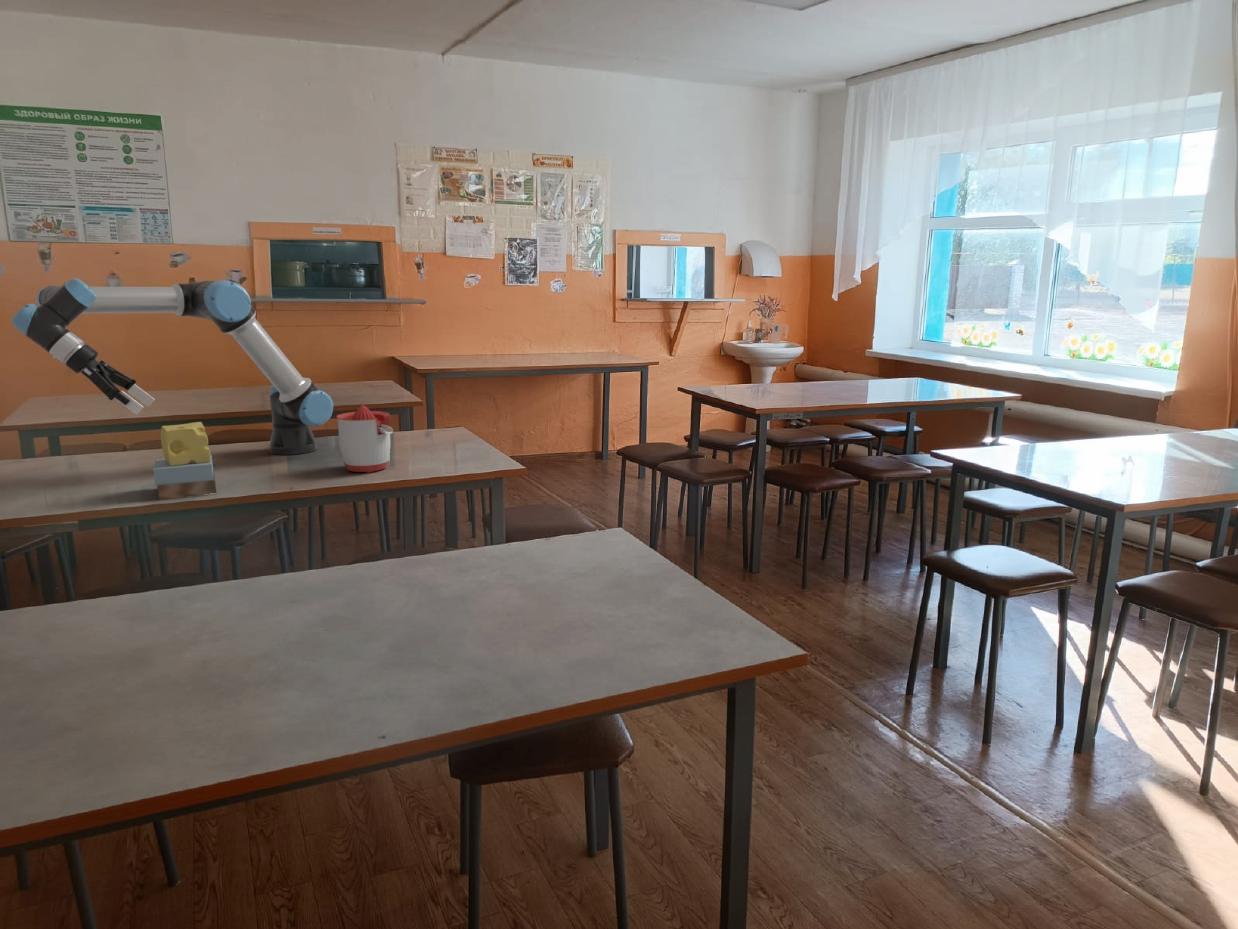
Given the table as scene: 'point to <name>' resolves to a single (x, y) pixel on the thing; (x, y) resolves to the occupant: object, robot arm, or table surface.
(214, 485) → the tower base block
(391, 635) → the table surface
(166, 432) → the cheese
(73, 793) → the table surface
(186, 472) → the tower top block
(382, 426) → the citrus juicer
